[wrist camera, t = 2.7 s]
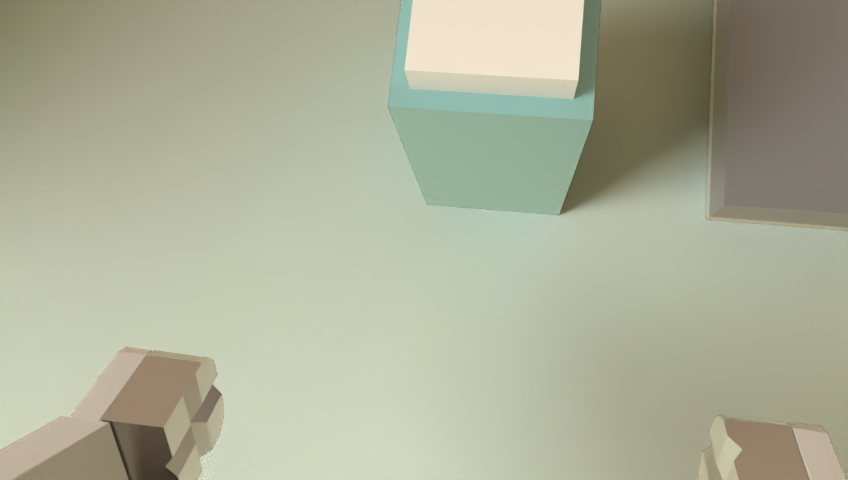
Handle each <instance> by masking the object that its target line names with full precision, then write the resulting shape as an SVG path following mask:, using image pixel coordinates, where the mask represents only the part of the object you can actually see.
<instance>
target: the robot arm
mask: <svg viewBox="0 0 848 480" xmlns="http://www.w3.org/2000/svg"><path fill="white" fill-rule="evenodd" d="M216 377H217V371H216V367H215V363H214V360H212V359H210V358H206V357H199V356H191V355H184V354H177V353H170V352H163V351H156V350H154V351H152V350H144V349H137V348H130V347H125V348H124V349H122V350H120V351H119V352H118V353H117V354H116V355H115V356H114V358H113V359H112V360H111V362H110V363H109V364H108V366H107V367H106V369H105V370H104V371H103V373H102V374H101V375H100V377H99V378H98V379H97V381H96V382H95V383H94V385H93V386H92V388H91V389H90V390H89V392H88V393H87V394H86V396H85V397H84V398H83V400H82V401H81V402H80V404H79V405H78V407H77V408H76V409H75V411H74V412H73V413H72V415H71V416H70V417H63V416H61V417H59V418H57V419H56V420H54V421H52V422H50V423H48V424H47V425H45V426H43V427H41V428H39V429H38V430H36V431H34V432H32V433H30V434H29V435H27V436H25V437H23V438H21V439H20V440H18V441H16V442H14V443H12V444H11V445H9V446H7V447H5V448H3V449H2V450H0V480H198V478H199V476H200V474H201V472H202V468H201V464H200V459H199V458H200V457H201V456H203V455H204V454H206V453H207V452H209V451H210V450H212V449H213V447H214V445H215V443H216V441H217V439H218V437H219V435H220V430H221V426H222V422H223V418H224V404H223V398H222V394H221V393H220V392H219V391H218V390H217V389H216V388H215V387H214V386H213V385H212V384H213V382H214V380H215V379H216ZM709 432H710V437H711V441H712V446H710V447H709V448H707V449H706V450H704V451H703V453H702V456H701V460H700V464H699V469H698V480H846V477H845V475H844V472H843V470H842V467H841V465H840V462H839V460H838V457H837V455H836V452H835V450H834V448H833V445H832V443H831V440H830V438H829V435H828V433H827V431H826V430H825V429H824V428H823V427H822V426H820V425H810V424H800V423H791V422H786V423H784V422H781V421H772V420H762V419H752V418H743V417H733V416H723V415H717V417H716V418H715V419H714V420H713V423H712V426H711V429H710V431H709Z"/></svg>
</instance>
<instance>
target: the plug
mask: <svg viewBox="0 0 848 480" xmlns="http://www.w3.org/2000/svg"><path fill="white" fill-rule="evenodd" d="M600 10H601V0H401V4H400V12H399V20H398V29H397V37H396V45H395V53H394V61H393V69H392V78H391V86H390V94H389V102H388V108H389V111H390V113H391V116H392V118H393V121H394V123H395V126H396V128H397V131H398V133H399V136H400V139H401V141H402V144H403V146H404V149H405V151H406V154H407V156H408V159H409V161H410V164H411V166H412V169H413V171H414V174H415V176H416V179H417V181H418V184H419V186H420V189H421V191H422V194H423V197H424V199H425V202H426V204H427V205H439V206H452V207H464V208H476V209H489V210H501V211H513V212H526V213H538V214H551V215H559V214H560V211H561V208H562V206H563V203H564V200H565V197H566V194H567V192H568V189H569V186H570V183H571V180H572V178H573V175H574V172H575V169H576V166H577V164H578V161H579V158H580V155H581V153H582V150H583V147H584V144H585V141H586V139H587V136H588V133H589V130H590V127H591V125H592V122H593V114H594V99H595V85H596V70H597V55H598V40H599V25H600Z"/></svg>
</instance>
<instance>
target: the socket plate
mask: <svg viewBox="0 0 848 480" xmlns="http://www.w3.org/2000/svg"><path fill="white" fill-rule="evenodd" d="M706 219H708V220H721V221H733V222H746V223H759V224H771V225H784V226H796V227H809V228H821V229H834V230H847V231H848V0H714V8H713V35H712V63H711V90H710V117H709V145H708V172H707V200H706Z"/></svg>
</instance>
